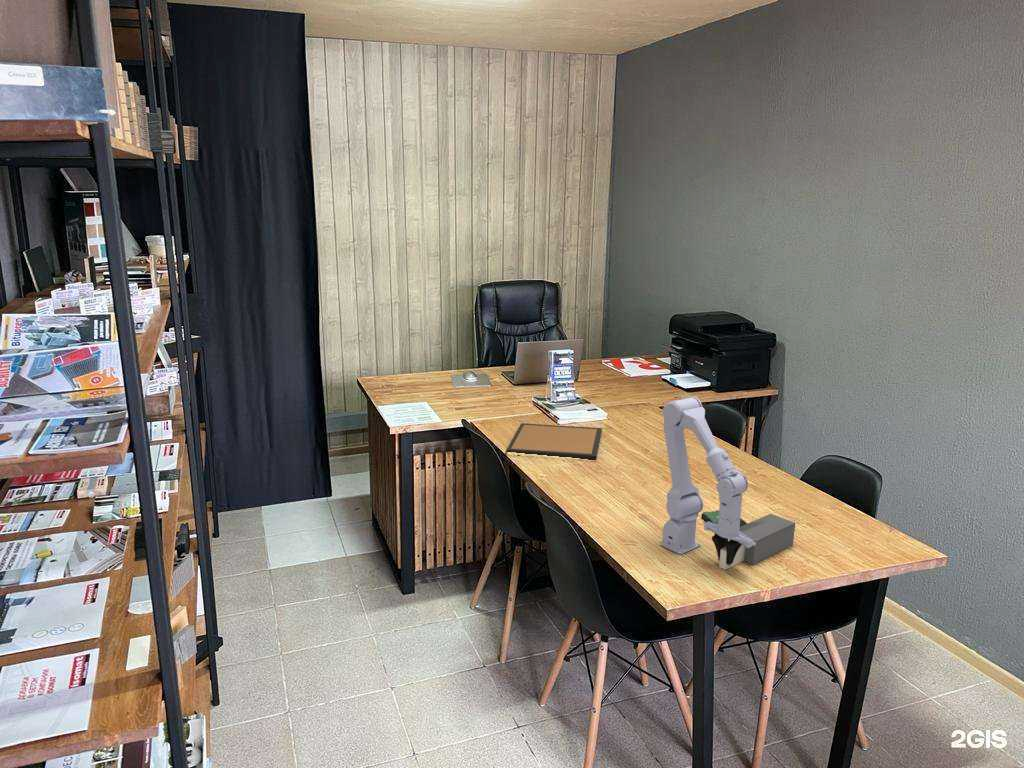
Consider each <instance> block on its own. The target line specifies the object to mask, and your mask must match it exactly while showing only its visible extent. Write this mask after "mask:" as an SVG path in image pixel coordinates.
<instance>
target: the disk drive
mask: <svg viewBox="0 0 1024 768" xmlns="http://www.w3.org/2000/svg"><path fill="white" fill-rule="evenodd" d="M700 516H701V520H703V522H704V523H706V522H712V523H715V524H718V518H719V509H718V510H714V511H702V513H701V515H700ZM746 524H748V522H746V521H745V520H744V519H743V518H742V517H740V527H741V526H743V525H746Z"/></svg>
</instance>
